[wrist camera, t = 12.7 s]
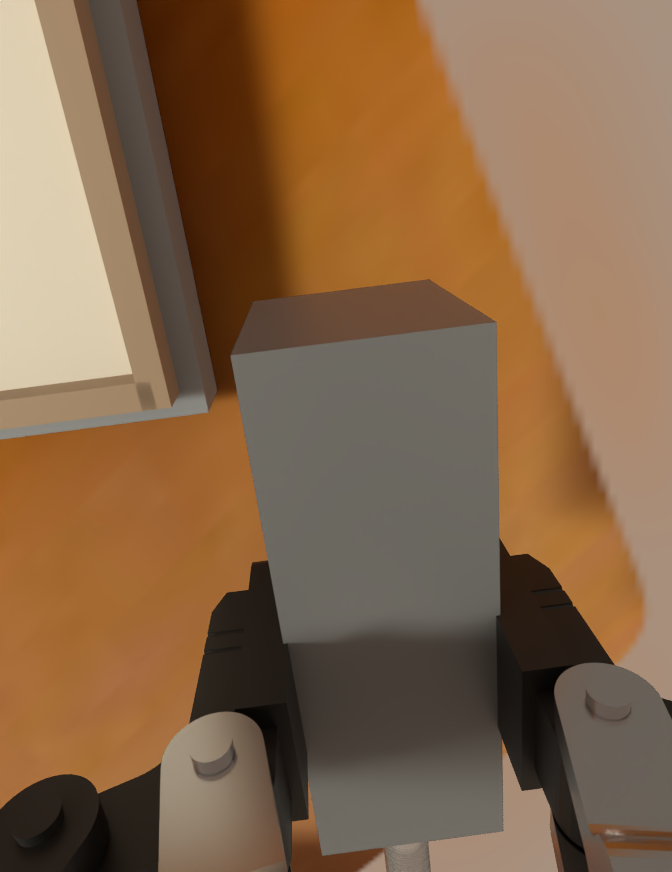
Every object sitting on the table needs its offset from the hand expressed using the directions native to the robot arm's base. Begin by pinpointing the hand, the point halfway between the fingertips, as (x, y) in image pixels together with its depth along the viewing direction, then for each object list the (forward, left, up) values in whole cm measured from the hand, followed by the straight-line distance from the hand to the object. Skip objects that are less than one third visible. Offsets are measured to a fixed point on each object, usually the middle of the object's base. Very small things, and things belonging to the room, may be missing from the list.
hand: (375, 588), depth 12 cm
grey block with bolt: (-1, 0, -2) cm, 2 cm away
